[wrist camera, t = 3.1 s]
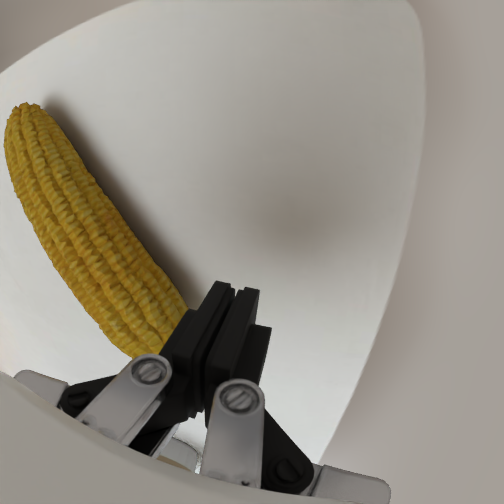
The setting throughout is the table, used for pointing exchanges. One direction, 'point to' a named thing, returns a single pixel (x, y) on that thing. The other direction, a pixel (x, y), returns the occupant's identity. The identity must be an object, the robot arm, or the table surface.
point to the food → (89, 237)
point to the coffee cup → (179, 455)
